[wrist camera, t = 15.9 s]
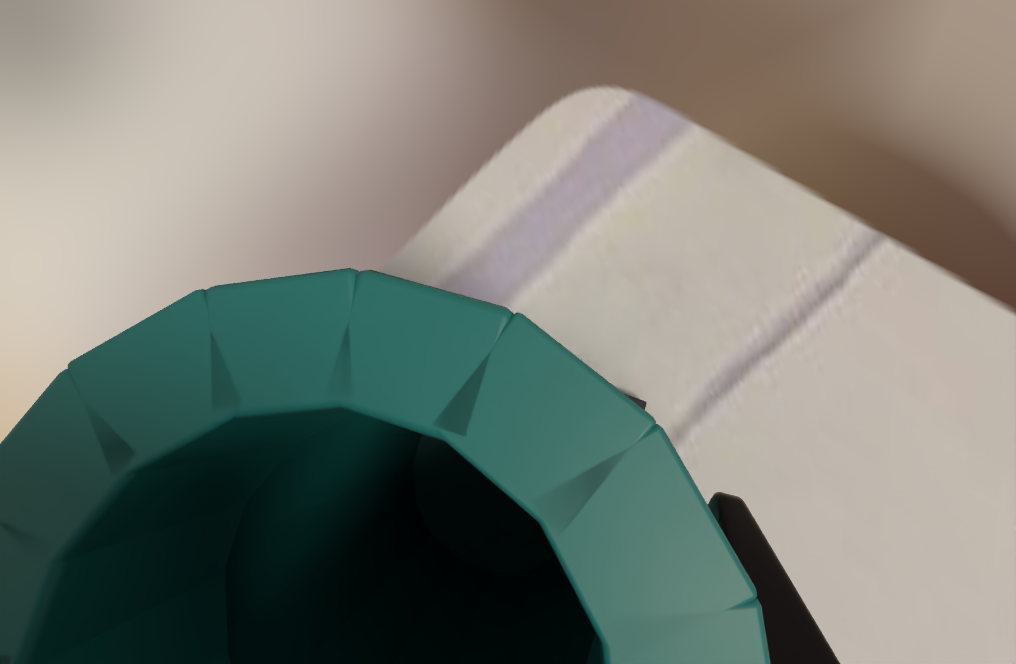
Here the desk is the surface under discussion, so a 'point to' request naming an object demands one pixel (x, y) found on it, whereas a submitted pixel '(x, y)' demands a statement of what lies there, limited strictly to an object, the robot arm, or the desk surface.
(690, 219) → the desk surface
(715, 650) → the jar
